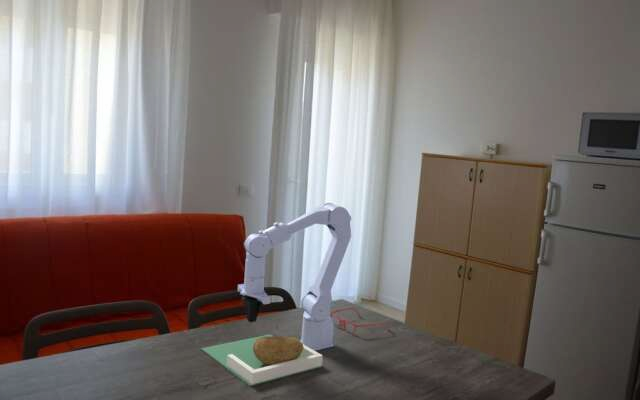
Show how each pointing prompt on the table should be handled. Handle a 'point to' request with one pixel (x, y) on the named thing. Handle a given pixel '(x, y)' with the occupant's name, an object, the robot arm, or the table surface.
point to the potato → (277, 349)
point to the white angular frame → (275, 366)
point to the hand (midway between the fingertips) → (251, 321)
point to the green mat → (241, 356)
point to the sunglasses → (351, 321)
